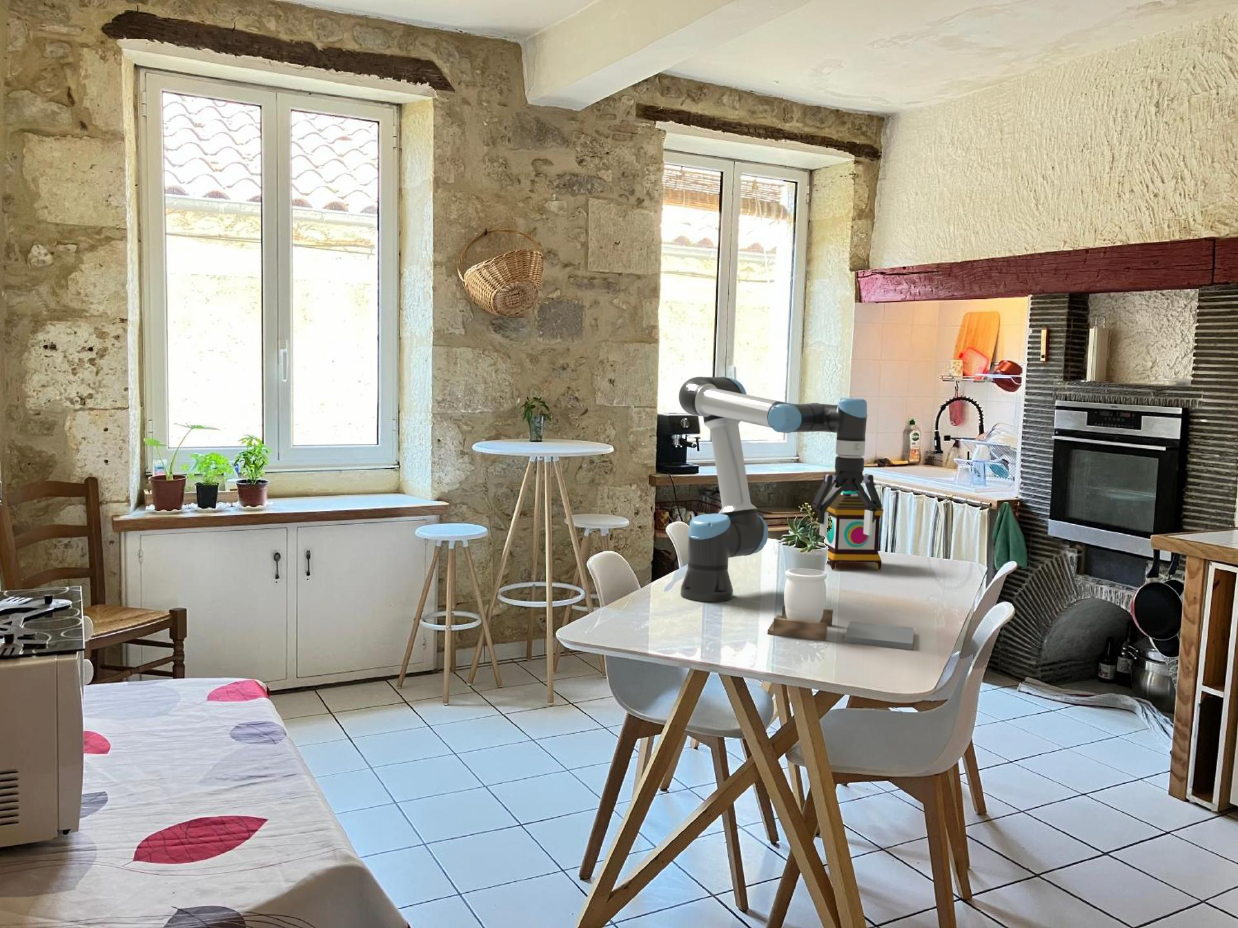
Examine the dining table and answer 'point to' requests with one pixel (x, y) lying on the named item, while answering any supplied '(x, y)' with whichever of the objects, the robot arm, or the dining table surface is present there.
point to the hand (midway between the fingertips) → (845, 535)
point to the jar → (805, 594)
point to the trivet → (880, 635)
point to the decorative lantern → (851, 532)
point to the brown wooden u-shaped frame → (801, 626)
